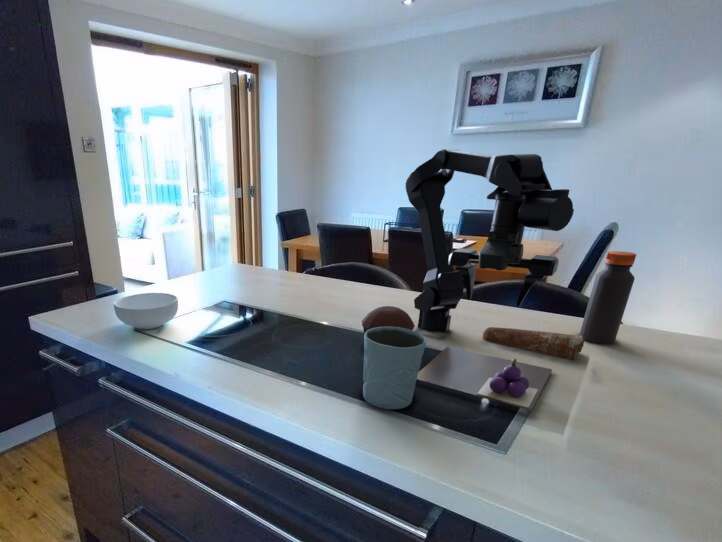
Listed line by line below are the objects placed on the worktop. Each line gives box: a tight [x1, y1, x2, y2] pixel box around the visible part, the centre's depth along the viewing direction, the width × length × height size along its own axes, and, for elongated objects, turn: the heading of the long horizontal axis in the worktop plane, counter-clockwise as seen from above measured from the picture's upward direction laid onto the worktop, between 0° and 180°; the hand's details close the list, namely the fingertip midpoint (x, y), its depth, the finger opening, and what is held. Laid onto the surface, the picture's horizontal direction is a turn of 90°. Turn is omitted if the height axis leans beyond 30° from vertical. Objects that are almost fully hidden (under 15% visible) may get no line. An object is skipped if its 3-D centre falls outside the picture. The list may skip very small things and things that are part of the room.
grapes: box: [489, 358, 529, 398], centre depth 77 cm, size 6×6×6 cm
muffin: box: [361, 305, 416, 335], centre depth 98 cm, size 12×11×10 cm
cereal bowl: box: [113, 292, 179, 330], centre depth 119 cm, size 17×17×7 cm
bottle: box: [579, 250, 637, 345], centre depth 99 cm, size 7×7×20 cm
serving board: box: [417, 346, 553, 411], centre depth 85 cm, size 20×20×1 cm
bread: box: [482, 326, 585, 361], centre depth 96 cm, size 6×19×6 cm, turn 46°
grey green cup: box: [362, 327, 427, 410], centre depth 77 cm, size 10×10×12 cm
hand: (493, 302), depth 91 cm, fingers open, 9 cm apart
